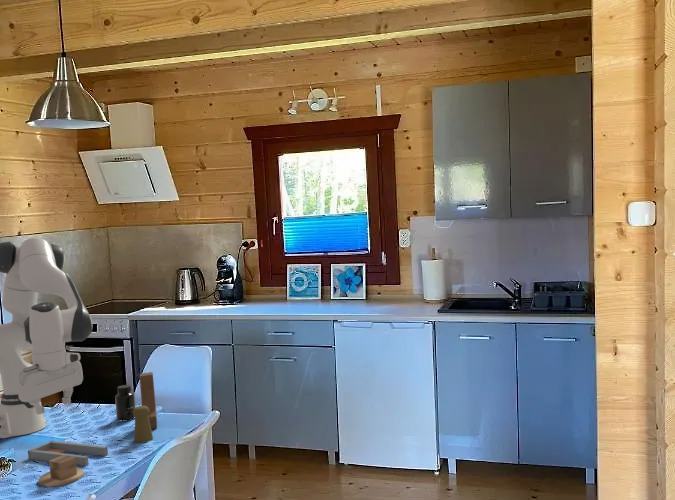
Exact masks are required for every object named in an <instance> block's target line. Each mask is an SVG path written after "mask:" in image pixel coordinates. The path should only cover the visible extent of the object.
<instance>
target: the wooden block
mask: <svg viewBox="0 0 675 500" xmlns="http://www.w3.org/2000/svg"><path fill="white" fill-rule="evenodd" d="M138 377H139V387H140V398H141V406H147V407H148V408H149V415H148V418H149V422H150V426H151V430H157V429H158V417H157V404H156V396H155V395H156V394H155V393H156V392H155V383H154V372H153V371H151V372H142V373H140V374H139V376H138Z"/></svg>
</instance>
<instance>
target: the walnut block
mask: <svg viewBox="0 0 675 500" xmlns="http://www.w3.org/2000/svg"><path fill="white" fill-rule="evenodd" d="M48 462H49V472H50V475H51V478H53V479H57V480H61V481H62V480H64V479H67V478H69V477H72V476H74V475H76V474H77V469H76V467H77V465H76V459H75V457H72V456H68V455H62V456H60V457H57V458H55V459H52V460H50V461H48Z"/></svg>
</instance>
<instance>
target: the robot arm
mask: <svg viewBox="0 0 675 500" xmlns="http://www.w3.org/2000/svg"><path fill="white" fill-rule="evenodd" d="M65 262H66V257H65V252H64V249H63V248H62V246H60V245H57V244H54V243H49V242H48V241H47V240H46V239H43V238H42V237H30V238H27V239H26V240H25V241H20V242H19V241H15V242H11V241H4V242H3V241H2V242H0V273H1V274H5V277H4V278H5V279H4V284H3V292H2V293H3V294H2V299H1V300H2V301H1V304H2V307H3V309H4V310H5V311H6V312H8V313H10V314H11V315H12V317H11V318H12V320H11V322H7V323H4V324H0V377H1V384H2V394H0V439H6V438H7V439H8V438H13V437H18V436H24V435H28V434H33V433H36V432H39V431H40V430H43V429H45V428H46V426H47V424H46V423H47V419H46V418H45V415H44V414H45V406H42V399H43V398H45V397H48V396H50V395H53V394H57V393H59V392H62V391H64V392H65V393H64V397H62V398H61V400H62V404H63V405H68V404H71V403H72V400H71V399H72V398H71V397H72V395H73V392H74V387H76V386H79V385H81V384H82V383H83V381H84V375H83V373H84V372H83V367H82V363H81V361H80V360H81V354H80V353H78V352H70V351H66V346H65V343H69V342H70V343H71V342H72V343H73V342H83V341H85V340H86V339H87V338H88V337H89V336H90V335H91V334H92V332H93V319H92V317H91V315H90V314H89V311H88V309H87V307H86V306H85V304H84V302H83V299H82V297H81V296H80V294H79V292H78V289H77V287H76V285H75V282H74V281H73V278H72V277H71V276H70V274H69V273H67V272H65V271H63V268H64V265H65ZM39 293H40V294H46V295H55V296H58V297H61V298H62V299H63V300H64V301H65V304H66V306H67V308H66V309H60V306H59V304H57V303H54V302H49V301H48V302H46V301H45V302H39V303H38V295H39ZM29 350H30V351H31V359H32V363H30V362H27V361H25V360H24V358H23V355H22V352H24V351H29Z"/></svg>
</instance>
